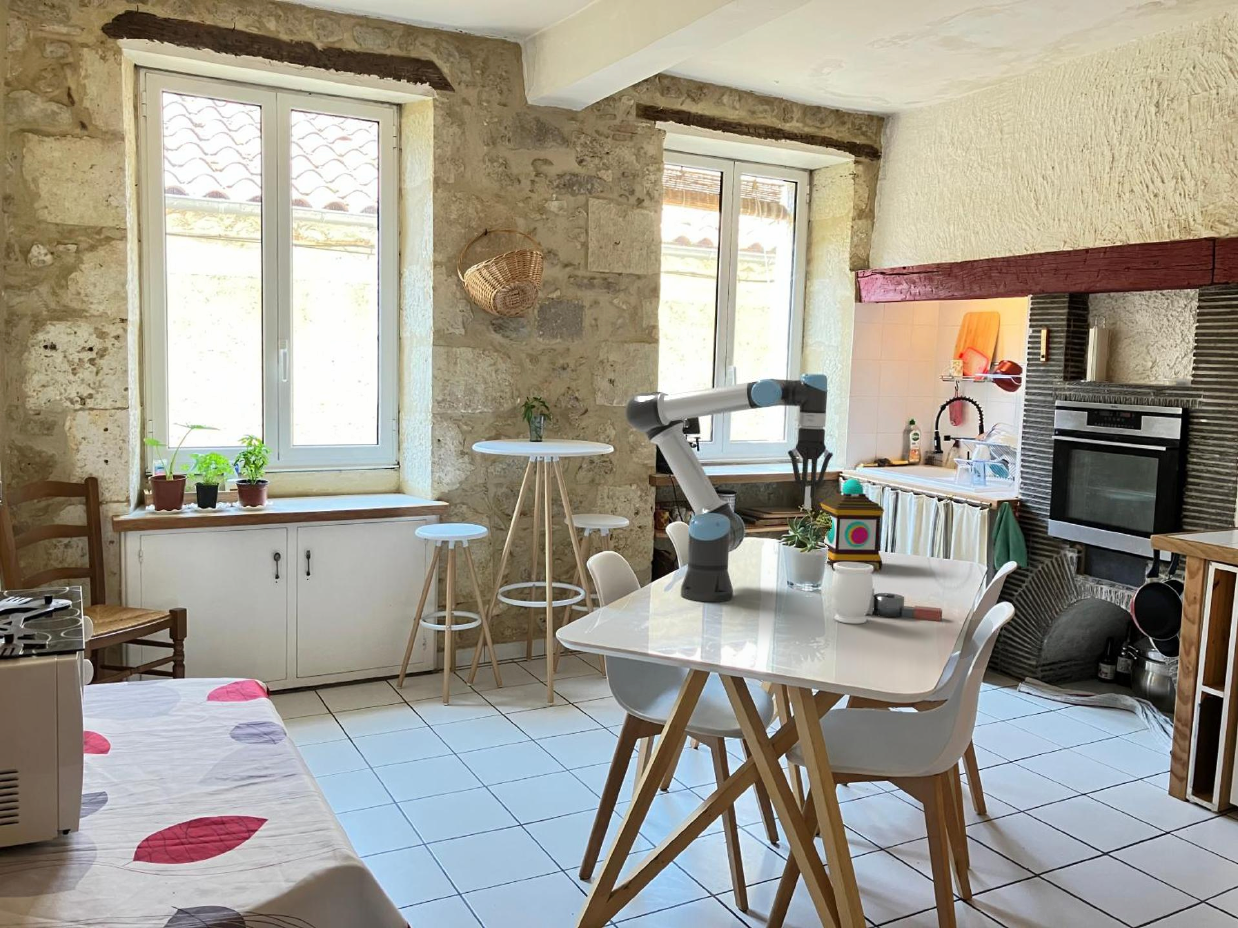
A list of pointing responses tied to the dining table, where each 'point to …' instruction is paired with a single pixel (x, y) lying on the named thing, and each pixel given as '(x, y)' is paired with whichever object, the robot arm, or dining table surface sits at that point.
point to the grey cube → (871, 604)
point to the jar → (852, 591)
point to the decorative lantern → (853, 526)
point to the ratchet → (902, 608)
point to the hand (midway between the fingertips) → (807, 508)
